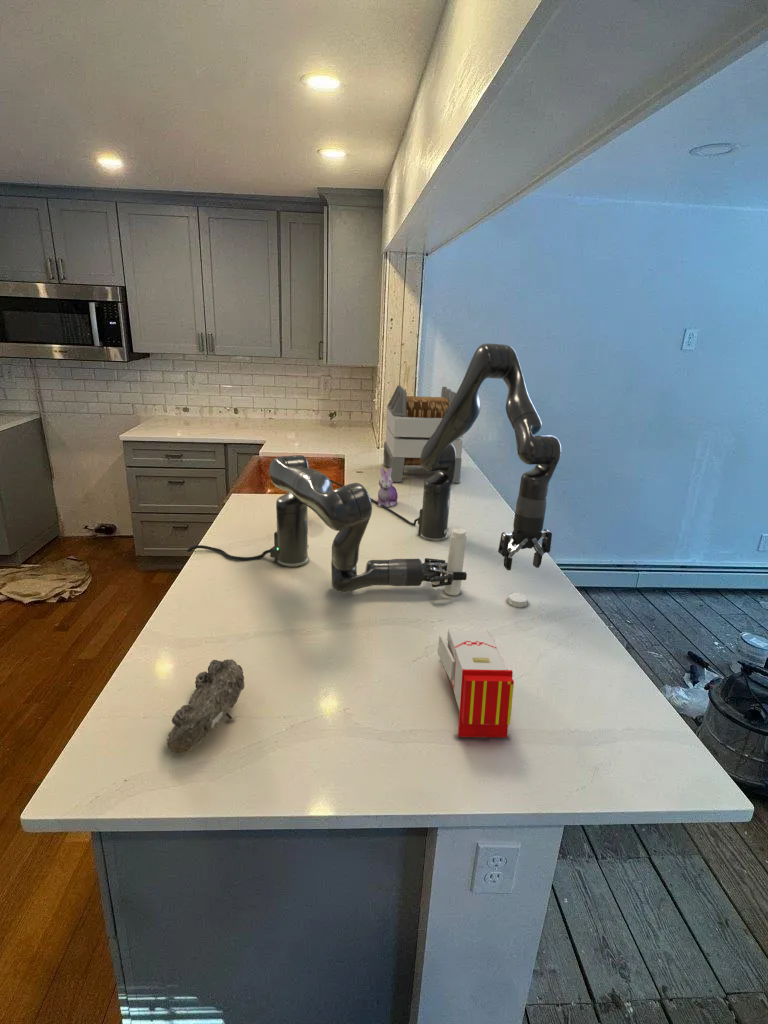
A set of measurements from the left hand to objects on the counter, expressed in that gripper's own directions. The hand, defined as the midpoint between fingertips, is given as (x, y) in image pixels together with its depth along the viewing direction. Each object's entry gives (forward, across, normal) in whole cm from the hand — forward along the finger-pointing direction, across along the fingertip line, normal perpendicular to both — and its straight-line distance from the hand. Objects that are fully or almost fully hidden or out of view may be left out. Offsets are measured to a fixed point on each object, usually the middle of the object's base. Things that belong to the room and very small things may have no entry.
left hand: (463, 571), depth 159 cm
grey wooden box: (+8, +121, +6) cm, 122 cm away
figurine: (-13, +75, +6) cm, 77 cm away
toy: (-9, -44, +6) cm, 45 cm away
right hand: (+14, -6, -4) cm, 16 cm away
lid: (+14, -7, +5) cm, 16 cm away
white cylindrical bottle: (-3, 0, +6) cm, 7 cm away
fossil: (-60, -49, +6) cm, 78 cm away
